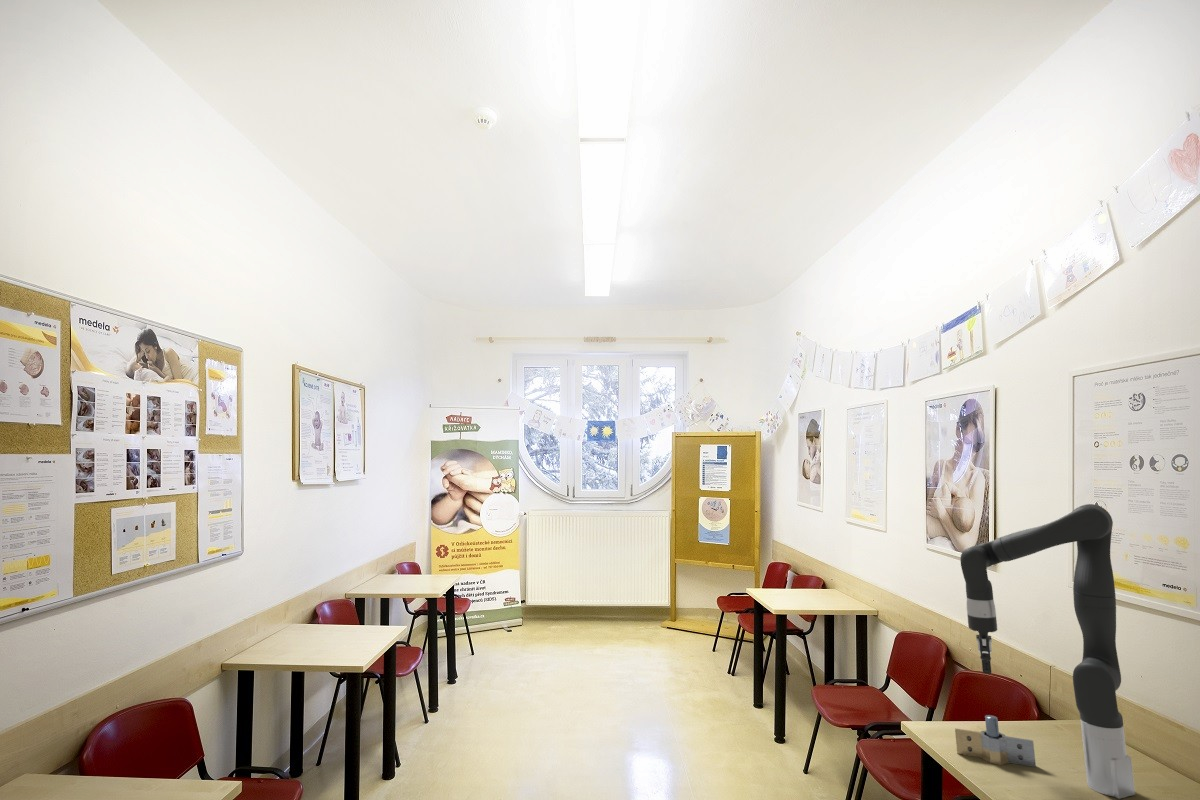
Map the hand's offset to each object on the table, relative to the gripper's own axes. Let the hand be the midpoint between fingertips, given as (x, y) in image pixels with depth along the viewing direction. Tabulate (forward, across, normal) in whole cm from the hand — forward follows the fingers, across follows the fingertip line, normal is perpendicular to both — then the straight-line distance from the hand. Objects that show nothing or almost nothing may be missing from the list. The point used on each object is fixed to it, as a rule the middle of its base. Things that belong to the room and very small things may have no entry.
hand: (986, 669), depth 191 cm
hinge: (+26, 0, 0) cm, 26 cm away
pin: (+26, 0, 0) cm, 26 cm away
